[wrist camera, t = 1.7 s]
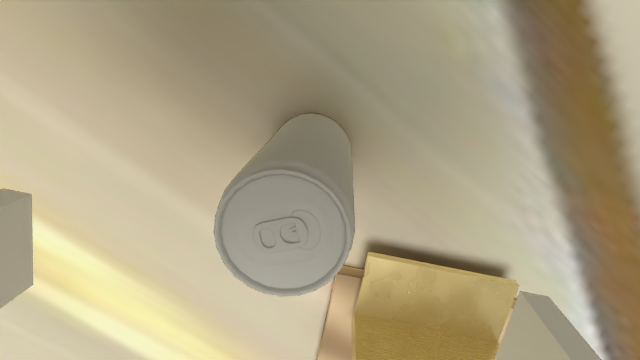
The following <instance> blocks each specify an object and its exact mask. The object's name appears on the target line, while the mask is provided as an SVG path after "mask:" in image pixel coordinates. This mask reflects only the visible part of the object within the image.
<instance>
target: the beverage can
mask: <svg viewBox="0 0 640 360" xmlns="http://www.w3.org/2000/svg"><path fill="white" fill-rule="evenodd" d="M354 233H355V217H354V194H353V170H352V151H351V144H350V142H349V139H348V136H347V135H346V133H345V132H344V130H343V129H342V127H341V126H339V125H338V124H337V123H336V122H335V121H333V120H332V119H330V118H328V117H325V116H323V115H319V114H313V113H310V114H301V115H299V116H297V117H294V118H292V119H290V120H289V121H288V122H287V123H285V124H284V125H283V126H282V127H281V128H280V129H279V130H278V131H277V132H276V134H275V135H274V136H273V137H272V138H271V139H270V141H269V142H268V143H267V144H266V145H265V146H264V147H263V148H262V149H261V150H260V151H259V152H258V153H257V154H256V155H255V156H254V157H253V158H252V159H251V160H250V161H249V162H248V163H247V164H246V165H245V166H244V168H243V169H242V170H241V171H240V172H239V173H238V174H237V175H236V177H235V178H234V179H233V180H232V182H231V183H230V184H229V186H228V187H227V188H226V189H225V191H224V193H223V195H222V198H221V200H220V203H219V205H218V210H217V213H216V215H215V224H214V236H215V242H216V247H217V250H218V252H219V254H220V256H221V258H222V260H223V262H224V264H225V265H226V266H227V268H228V269H229V270H230V271H231V272H232V274H233V275H234V276H235V277H236V278H238V279H239V280H240V281H242V282H243V283H244V284H246V285H247V286H249V287H251V288H253V289H255V290H258V291H260V292H262V293H265V294H270V295H276V296H299V295H302V294H305V293H309V292H312V291H315V290H317V289H318V288H320V287H322V286H323V285H325V284H327V283H328V282H330V281H331V279H332V278H333V277H334V276H335V275H336V274H337V273H338V272H339V271H340V270H341V268H342V266H343V264H344V262H345V260H346V259H347V257H348V253H349V251H350V249H351V247H352V243H353V238H354Z"/></svg>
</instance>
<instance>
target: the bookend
mask: <svg viewBox="0 0 640 360" xmlns="http://www.w3.org/2000/svg"><path fill="white" fill-rule="evenodd" d="M518 287H519V285H518V284H517V282H516V281H515V280H511V279H506V278H501V277H496V276H490V275H485V274H480V273H475V272H470V271H465V270H460V269H455V268H450V267H445V266H440V265H435V264H430V263H425V262H419V261H414V260H409V259H404V258H399V257H394V256H389V255H384V254H379V253H374V252H369V251H368V254H367V259H366V263H365V267H364V271H363V275H362V279H361V283H360V287H359V291H358V295H357V299H356V303H355V307H354V312H353V316H352V320H351V339H352V360H494V359H495V357H496V354H497V351H498V349H499V346H500V344H499V343H498V340H499V338H500V335H501V332H502V330H503V327H504V324H505V322H506V319H507V316H508V314H509V311H510V308H511V306H512V303H513V301H514V298H515V295H516V293H517V290H518Z"/></svg>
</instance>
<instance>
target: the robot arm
mask: <svg viewBox="0 0 640 360" xmlns="http://www.w3.org/2000/svg"><path fill="white" fill-rule="evenodd" d="M32 285H33V245H32V194H29V193H24V192H19V191H14V190H9V189H4V188H3V189H1V190H0V308H2V307H3V306H4V305H6V304H7V303H9V302H10V301H11V300H13V299H14V298H15V297H17V296H18V295H19V294H21V293H22V292H24V291H25V290H26V289H28V288H29V287H30V286H32ZM494 360H601V359H600V357H599V356H598V355H597V354H596V353H595V351H594V350H593V349H592V348H591V347H590V345H589V344H588V343H587V342H586V341H585V339H584V338H583V337H582V336H581V335H580V333H579V332H578V331H577V330H576V329H575V327H574V326H573V325H572V324H571V323H570V322H569V320H568V319H567V318H566V317H565V316H564V314H563V313H562V312H561V311H560V310H559V308H558V307H557V306H556V305H555V304H554V302H553V301H552V300H551V299H550V298H549V297H548V296H543V295H538V294H533V293H528V292H523V291H520V292H519V295H518V298H517V300H516V303H515V306H514V308H513V311H512V314H511V316H510V319H509V322H508V325H507V327H506V330H505V333H504V335H503V338H502V341H501V343H500V346H499V349H498V351H497V354H496V357H495V359H494Z"/></svg>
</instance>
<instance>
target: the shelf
mask: <svg viewBox="0 0 640 360" xmlns="http://www.w3.org/2000/svg"><path fill="white" fill-rule="evenodd" d="M363 271H364V270H363V269H358V268H353V267H348V266H342V268H341V270H340V271H339V272H338V273H337V274H336V275H335V279H334V284H333V288H332V293H331V297H330V302H329V306H328V310H327V315H326V319H325V324H324V328H323V333H322V337H321V342H320V346H319V351H318V355H317V360H352V339H351V320H352V316H353V312H354V307H355V303H356V299H357V295H358V291H359V287H360V283H361V279H362V275H363ZM515 303H516V300H515V299H514V301H513V303H512V306H511V308H510V311H509V314H508V316H507V319H506V322H505V324H504V327H503V330H502V332H501V335H500V338H499V340H498V343H499V344H500V343H501V341H502V338H503V335H504V333H505V330H506V327H507V325H508V322H509V319H510V316H511V314H512V311H513V308H514V306H515Z"/></svg>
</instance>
